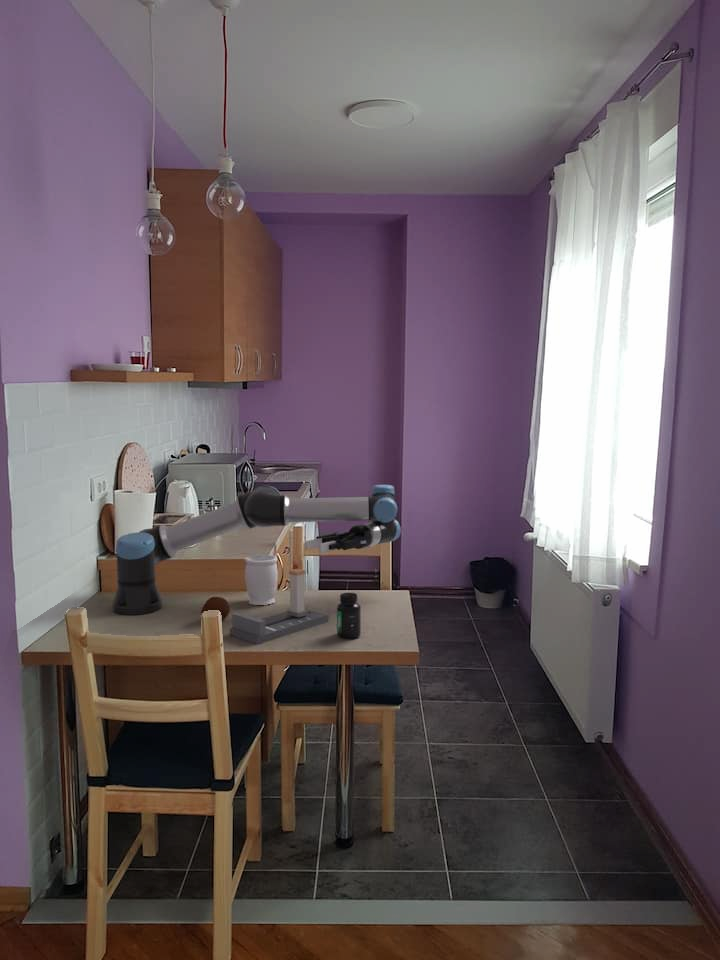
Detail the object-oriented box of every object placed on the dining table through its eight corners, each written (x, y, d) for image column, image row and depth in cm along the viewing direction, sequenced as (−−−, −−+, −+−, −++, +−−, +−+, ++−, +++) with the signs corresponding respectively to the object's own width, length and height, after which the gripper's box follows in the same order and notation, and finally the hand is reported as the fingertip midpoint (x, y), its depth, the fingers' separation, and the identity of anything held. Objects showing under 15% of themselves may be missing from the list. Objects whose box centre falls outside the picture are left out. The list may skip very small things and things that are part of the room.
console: (300, 613, 244) (300, 594, 243) (328, 621, 236) (328, 601, 235) (229, 634, 223) (229, 614, 223) (257, 644, 215) (257, 623, 215)
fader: (296, 611, 238) (296, 567, 236) (308, 614, 234) (307, 570, 233) (286, 614, 235) (286, 570, 233) (298, 617, 232) (298, 573, 230)
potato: (235, 617, 240) (235, 592, 239) (220, 628, 229) (219, 602, 228) (212, 615, 242) (212, 590, 241) (196, 626, 231) (195, 600, 230)
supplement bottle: (337, 639, 219) (337, 598, 218) (336, 632, 226) (335, 591, 224) (361, 639, 220) (361, 597, 218) (359, 631, 226) (359, 591, 225)
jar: (281, 598, 261) (280, 554, 259) (273, 607, 250) (273, 561, 248) (250, 597, 262) (249, 553, 260) (241, 606, 252) (240, 560, 250)
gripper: (385, 551, 249) (335, 563, 232) (343, 543, 261) (292, 554, 244) (385, 528, 248) (334, 539, 231) (343, 521, 260) (292, 531, 243)
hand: (313, 547), depth 237 cm, fingers open, 5 cm apart
